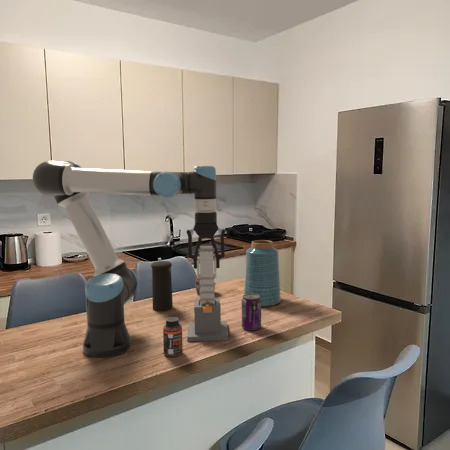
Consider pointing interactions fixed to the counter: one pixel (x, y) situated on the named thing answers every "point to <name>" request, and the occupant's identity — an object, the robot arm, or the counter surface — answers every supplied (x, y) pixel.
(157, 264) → the container
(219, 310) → the stand
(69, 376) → the counter surface
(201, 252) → the column
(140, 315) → the counter surface
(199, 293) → the cupcake
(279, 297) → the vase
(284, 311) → the counter surface
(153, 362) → the counter surface
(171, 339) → the supplement bottle
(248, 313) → the beverage can
